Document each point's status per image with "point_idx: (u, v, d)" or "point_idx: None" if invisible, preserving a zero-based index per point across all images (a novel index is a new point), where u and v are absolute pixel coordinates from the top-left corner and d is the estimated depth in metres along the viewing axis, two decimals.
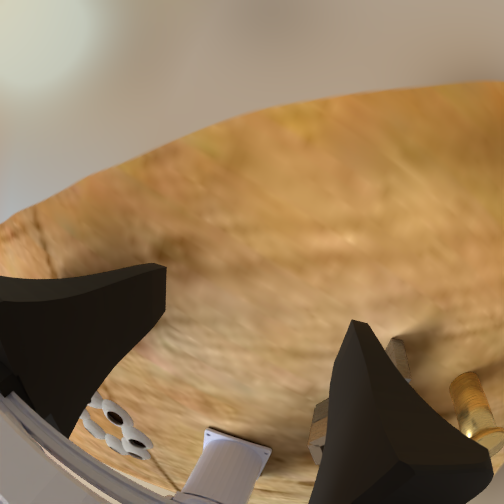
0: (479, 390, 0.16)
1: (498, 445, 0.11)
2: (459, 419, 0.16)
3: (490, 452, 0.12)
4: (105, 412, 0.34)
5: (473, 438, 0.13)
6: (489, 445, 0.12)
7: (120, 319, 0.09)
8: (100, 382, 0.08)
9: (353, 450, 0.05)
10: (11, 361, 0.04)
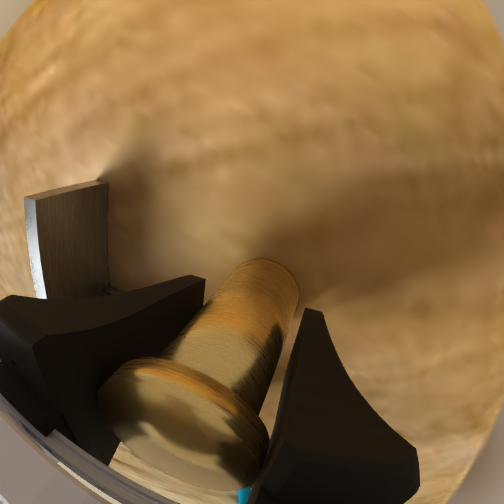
0: (252, 286, 0.10)
1: (220, 452, 0.05)
2: None
3: (212, 467, 0.05)
4: None
5: None
6: (164, 428, 0.05)
7: (162, 338, 0.08)
8: None
9: (277, 434, 0.05)
10: (55, 400, 0.04)
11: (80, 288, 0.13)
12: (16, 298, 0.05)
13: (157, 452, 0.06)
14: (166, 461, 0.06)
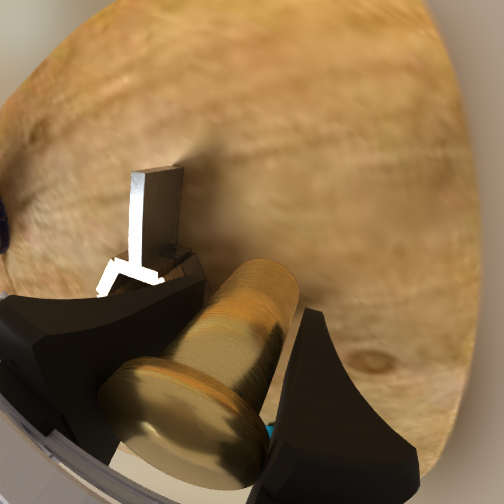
0: (253, 286, 0.10)
1: (220, 452, 0.05)
2: None
3: (212, 467, 0.05)
4: None
5: None
6: (165, 427, 0.05)
7: (162, 337, 0.08)
8: None
9: (277, 434, 0.05)
10: (55, 399, 0.04)
11: (160, 242, 0.19)
12: (15, 298, 0.05)
13: (157, 452, 0.06)
14: (166, 461, 0.06)
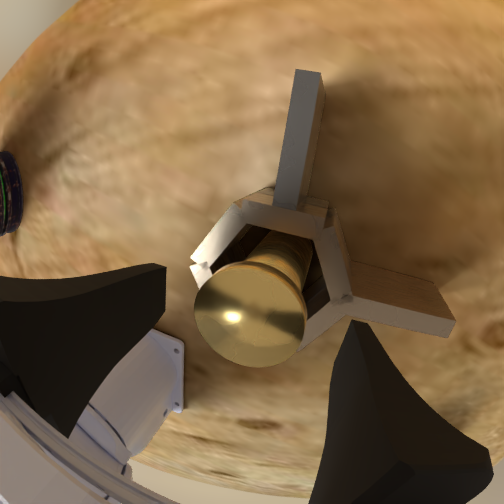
0: (285, 239, 0.15)
1: (281, 317, 0.10)
2: None
3: (272, 336, 0.10)
4: None
5: None
6: (247, 304, 0.10)
7: (120, 319, 0.09)
8: (100, 382, 0.08)
9: (353, 450, 0.05)
10: (11, 361, 0.04)
11: (306, 183, 0.14)
12: None
13: (232, 334, 0.10)
14: (237, 343, 0.10)
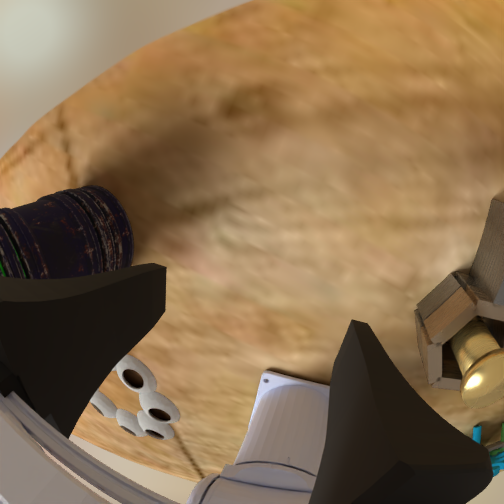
0: (476, 315, 0.15)
1: None
2: (455, 349, 0.15)
3: (500, 388, 0.11)
4: (120, 372, 0.29)
5: (476, 362, 0.12)
6: (498, 374, 0.11)
7: (120, 319, 0.09)
8: (99, 382, 0.08)
9: (353, 450, 0.05)
10: (11, 361, 0.04)
11: None
12: None
13: (481, 392, 0.11)
14: (481, 396, 0.11)
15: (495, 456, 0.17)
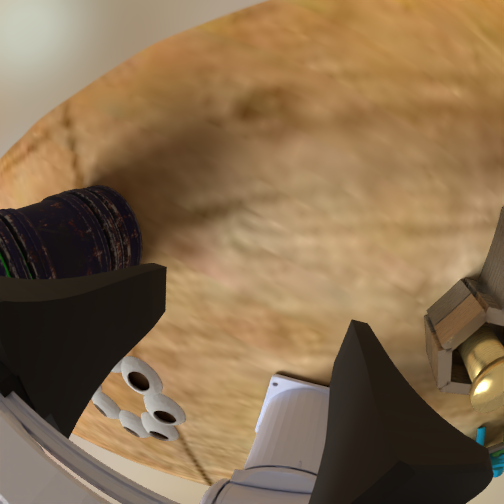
0: None
1: None
2: (464, 354, 0.15)
3: None
4: (125, 374, 0.29)
5: (485, 368, 0.11)
6: None
7: (120, 319, 0.09)
8: (99, 382, 0.08)
9: (353, 450, 0.05)
10: (11, 361, 0.04)
11: None
12: None
13: (489, 397, 0.11)
14: (489, 401, 0.11)
15: (497, 457, 0.17)
